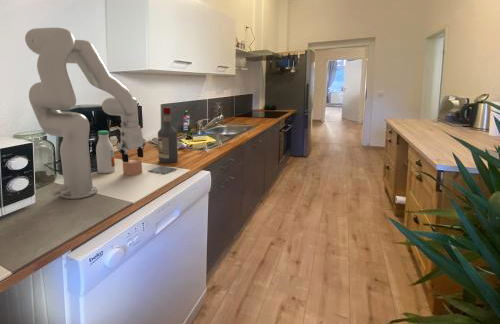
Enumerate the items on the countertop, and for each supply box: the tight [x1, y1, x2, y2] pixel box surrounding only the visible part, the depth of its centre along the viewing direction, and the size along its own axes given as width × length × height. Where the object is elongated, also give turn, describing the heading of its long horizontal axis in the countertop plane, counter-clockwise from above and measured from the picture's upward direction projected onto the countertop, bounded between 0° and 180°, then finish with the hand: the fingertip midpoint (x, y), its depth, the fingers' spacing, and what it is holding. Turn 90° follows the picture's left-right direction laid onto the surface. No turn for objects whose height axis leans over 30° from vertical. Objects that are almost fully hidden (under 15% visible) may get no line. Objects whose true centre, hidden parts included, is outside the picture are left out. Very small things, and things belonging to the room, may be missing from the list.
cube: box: [122, 159, 143, 177], centre depth 148 cm, size 6×6×6 cm
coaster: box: [147, 165, 177, 175], centre depth 155 cm, size 10×10×1 cm
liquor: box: [157, 106, 179, 164], centre depth 171 cm, size 9×9×30 cm
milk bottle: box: [95, 130, 116, 174], centre depth 148 cm, size 8×8×20 cm
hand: (133, 159), depth 148 cm, fingers open, 9 cm apart
